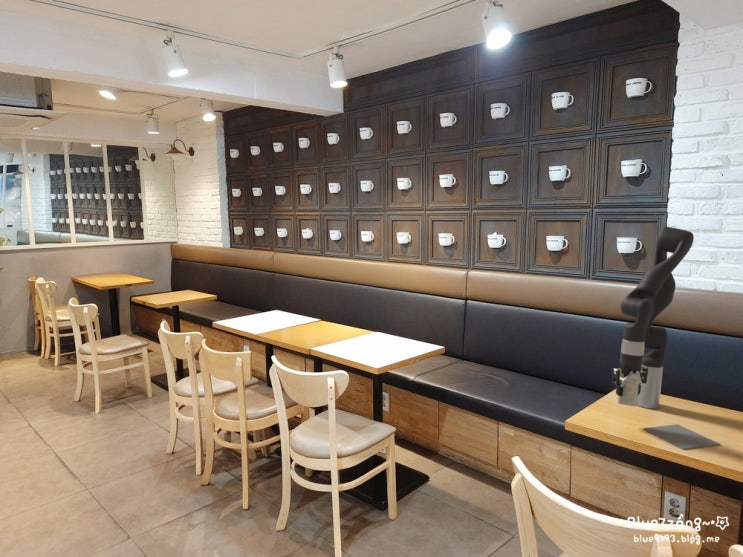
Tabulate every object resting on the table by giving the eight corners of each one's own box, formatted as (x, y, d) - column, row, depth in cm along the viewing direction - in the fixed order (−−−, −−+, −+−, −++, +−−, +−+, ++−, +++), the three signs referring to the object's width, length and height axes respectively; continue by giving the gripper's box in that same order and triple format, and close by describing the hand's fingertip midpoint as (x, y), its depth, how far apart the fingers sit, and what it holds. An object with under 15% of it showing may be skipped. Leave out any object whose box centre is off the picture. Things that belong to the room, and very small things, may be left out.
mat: (643, 429, 187) (643, 428, 187) (677, 425, 191) (677, 424, 191) (683, 449, 170) (683, 448, 170) (720, 445, 175) (720, 443, 175)
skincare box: (637, 403, 190) (640, 372, 188) (636, 407, 186) (639, 375, 185) (618, 400, 193) (621, 368, 192) (616, 403, 190) (620, 371, 188)
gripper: (640, 348, 193) (636, 390, 195) (608, 350, 189) (604, 392, 191) (656, 353, 185) (651, 397, 188) (623, 355, 182) (619, 400, 184)
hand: (627, 394), depth 189 cm, fingers closed on skincare box, 7 cm apart
